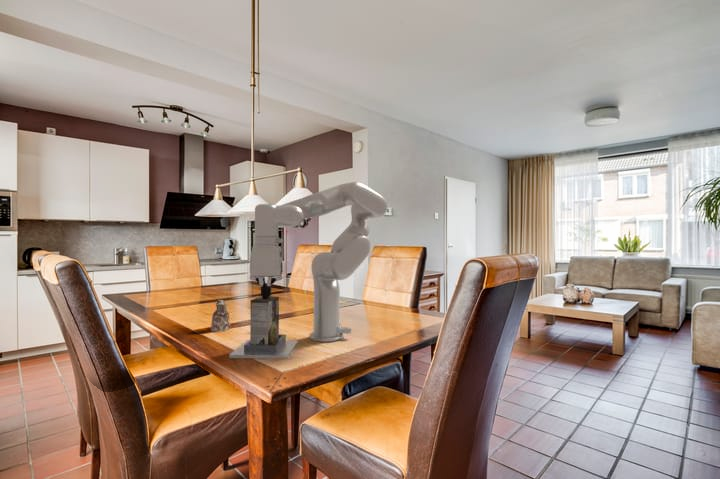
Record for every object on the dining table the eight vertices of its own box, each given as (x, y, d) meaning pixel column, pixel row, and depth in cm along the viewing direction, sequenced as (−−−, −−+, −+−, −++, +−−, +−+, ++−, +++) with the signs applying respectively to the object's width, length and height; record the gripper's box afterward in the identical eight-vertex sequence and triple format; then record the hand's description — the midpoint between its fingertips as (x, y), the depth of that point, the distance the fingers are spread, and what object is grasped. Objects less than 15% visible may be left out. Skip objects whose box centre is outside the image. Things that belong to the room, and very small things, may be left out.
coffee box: (261, 342, 122) (261, 295, 122) (279, 343, 121) (279, 296, 121) (249, 351, 113) (249, 300, 113) (268, 352, 112) (268, 300, 112)
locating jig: (298, 343, 125) (298, 333, 125) (287, 358, 109) (287, 347, 109) (247, 342, 125) (247, 332, 125) (229, 358, 109) (229, 346, 109)
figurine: (212, 332, 139) (212, 301, 139) (209, 328, 145) (209, 299, 145) (231, 330, 142) (231, 300, 142) (227, 326, 148) (227, 297, 148)
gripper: (291, 242, 120) (291, 296, 120) (247, 241, 121) (247, 296, 121) (286, 242, 113) (286, 300, 113) (239, 242, 113) (239, 299, 113)
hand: (266, 297), depth 117 cm, fingers closed
